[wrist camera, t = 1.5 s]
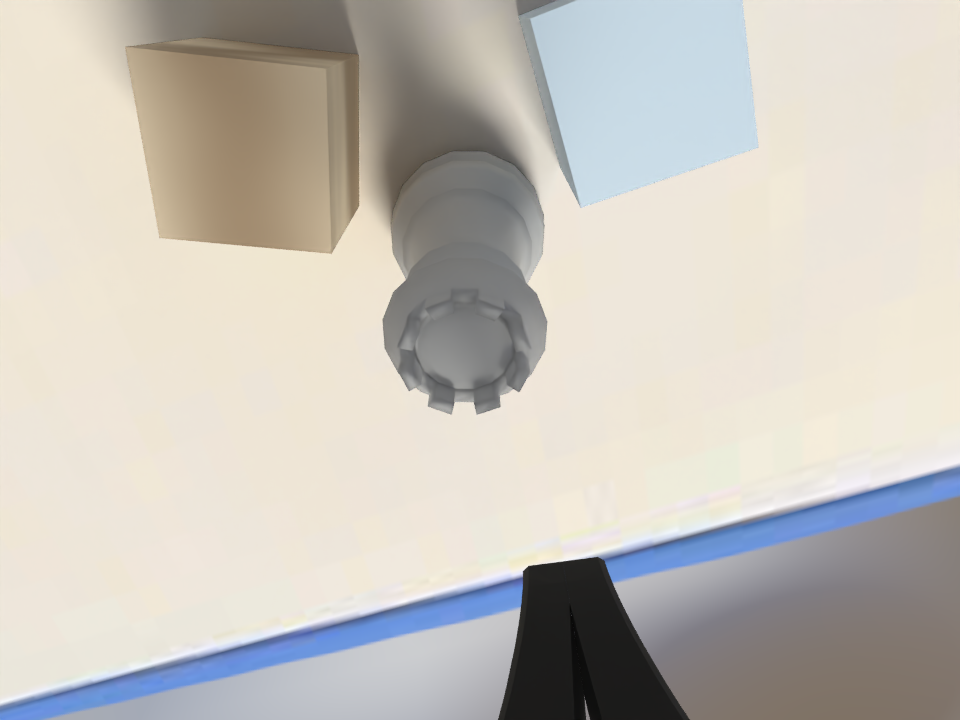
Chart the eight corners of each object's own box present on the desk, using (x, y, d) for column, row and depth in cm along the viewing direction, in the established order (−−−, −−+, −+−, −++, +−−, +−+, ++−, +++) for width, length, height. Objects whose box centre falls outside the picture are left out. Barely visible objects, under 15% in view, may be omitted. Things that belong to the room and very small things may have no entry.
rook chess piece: (376, 162, 17) (308, 268, 10) (532, 132, 17) (572, 222, 10) (413, 302, 19) (378, 468, 12) (551, 279, 19) (595, 436, 12)
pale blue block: (674, -48, 15) (735, -63, 11) (700, 117, 17) (758, 147, 13) (518, 15, 15) (530, 18, 12) (560, 167, 17) (580, 207, 14)
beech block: (359, 54, 16) (326, 68, 12) (359, 205, 18) (331, 253, 14) (203, 37, 15) (124, 46, 12) (222, 192, 17) (159, 237, 14)
